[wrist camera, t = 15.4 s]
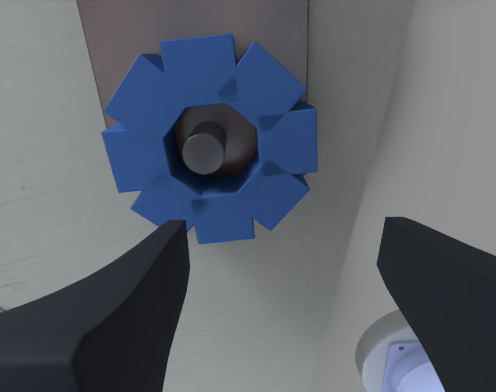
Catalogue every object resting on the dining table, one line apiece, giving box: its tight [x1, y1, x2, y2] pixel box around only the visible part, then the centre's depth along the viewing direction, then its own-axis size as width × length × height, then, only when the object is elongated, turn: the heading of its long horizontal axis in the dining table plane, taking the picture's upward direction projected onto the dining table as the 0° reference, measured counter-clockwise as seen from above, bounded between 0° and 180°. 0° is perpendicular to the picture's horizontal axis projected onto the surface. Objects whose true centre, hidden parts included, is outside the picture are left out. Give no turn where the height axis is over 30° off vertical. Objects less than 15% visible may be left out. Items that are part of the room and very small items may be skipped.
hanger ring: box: [101, 33, 317, 244], centre depth 17 cm, size 10×10×3 cm
